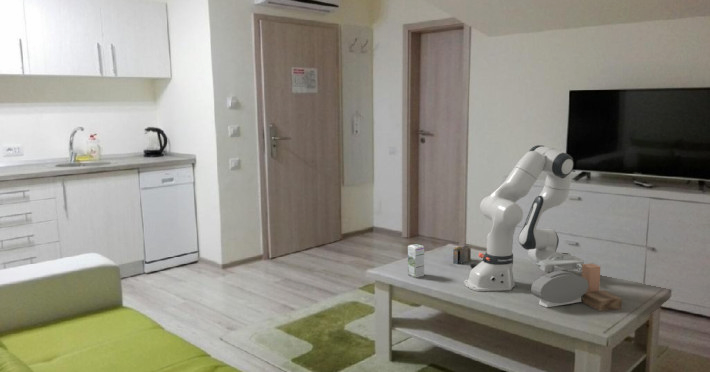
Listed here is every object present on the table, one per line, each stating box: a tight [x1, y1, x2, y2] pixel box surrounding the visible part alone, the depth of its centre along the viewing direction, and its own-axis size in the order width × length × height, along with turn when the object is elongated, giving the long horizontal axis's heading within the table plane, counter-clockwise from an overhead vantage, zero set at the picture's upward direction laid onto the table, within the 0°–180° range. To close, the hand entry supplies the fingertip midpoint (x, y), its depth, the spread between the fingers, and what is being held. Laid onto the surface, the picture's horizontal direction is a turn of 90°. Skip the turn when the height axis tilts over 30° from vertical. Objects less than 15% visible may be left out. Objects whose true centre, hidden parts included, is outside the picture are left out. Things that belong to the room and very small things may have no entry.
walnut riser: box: [582, 289, 623, 312], centre depth 216 cm, size 10×10×4 cm
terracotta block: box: [581, 262, 601, 292], centre depth 226 cm, size 5×5×13 cm
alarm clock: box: [530, 270, 589, 308], centre depth 218 cm, size 23×6×13 cm, turn 109°
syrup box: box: [407, 243, 425, 279], centre depth 255 cm, size 6×6×14 cm
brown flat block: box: [452, 245, 472, 265], centre depth 278 cm, size 11×3×10 cm, turn 133°
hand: (572, 269), depth 238 cm, fingers open, 8 cm apart
